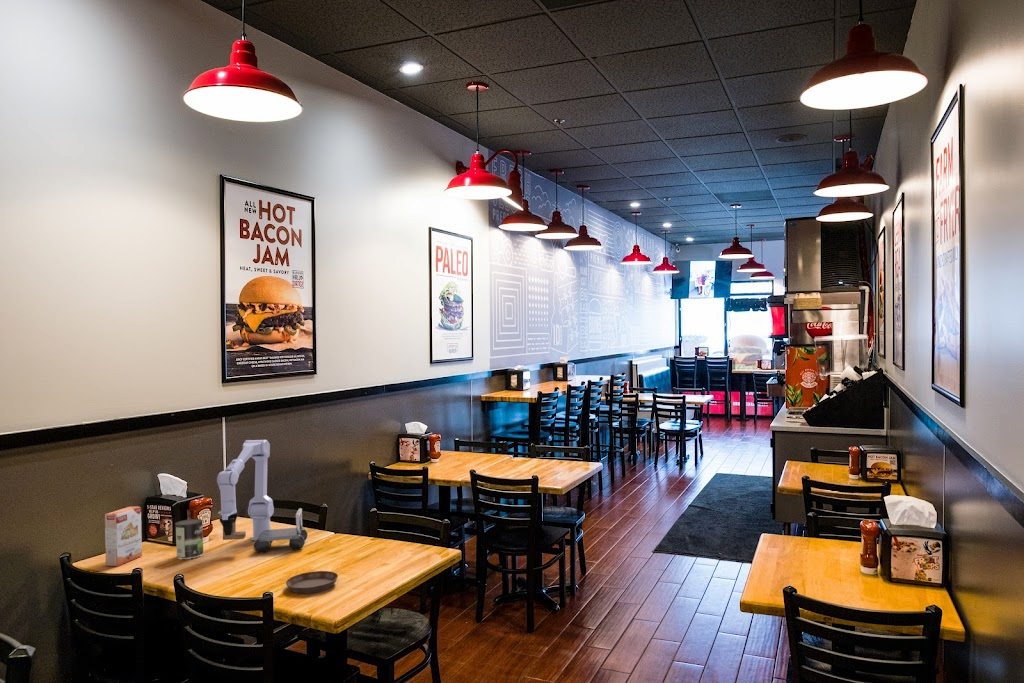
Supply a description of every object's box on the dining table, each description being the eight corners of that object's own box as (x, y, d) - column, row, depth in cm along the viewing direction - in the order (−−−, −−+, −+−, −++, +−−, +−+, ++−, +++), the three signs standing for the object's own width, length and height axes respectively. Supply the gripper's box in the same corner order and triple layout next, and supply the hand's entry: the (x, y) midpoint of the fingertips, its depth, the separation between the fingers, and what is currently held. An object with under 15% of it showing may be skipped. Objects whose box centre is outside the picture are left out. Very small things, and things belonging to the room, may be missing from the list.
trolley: (259, 545, 306) (258, 511, 306) (307, 541, 310) (306, 507, 310) (254, 553, 294) (252, 518, 294) (304, 549, 297) (303, 514, 297)
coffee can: (208, 551, 299) (206, 518, 299) (196, 559, 289) (195, 524, 289) (183, 552, 299) (182, 519, 299) (171, 560, 289) (170, 525, 289)
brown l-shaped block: (225, 537, 295) (225, 522, 295) (245, 536, 296) (245, 521, 296) (222, 539, 290) (222, 525, 290) (243, 539, 292) (243, 524, 292)
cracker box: (118, 567, 282) (116, 514, 282) (105, 566, 283) (103, 514, 283) (143, 556, 296) (141, 506, 296) (130, 556, 297) (128, 505, 297)
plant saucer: (275, 590, 248) (274, 582, 248) (315, 575, 262) (314, 567, 262) (309, 599, 238) (309, 590, 238) (348, 583, 253) (348, 574, 253)
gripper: (222, 497, 299) (223, 529, 299) (213, 504, 285) (215, 538, 285) (239, 496, 301) (241, 528, 301) (232, 503, 286) (233, 537, 286)
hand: (229, 533), depth 293 cm, fingers closed on brown l-shaped block, 4 cm apart
